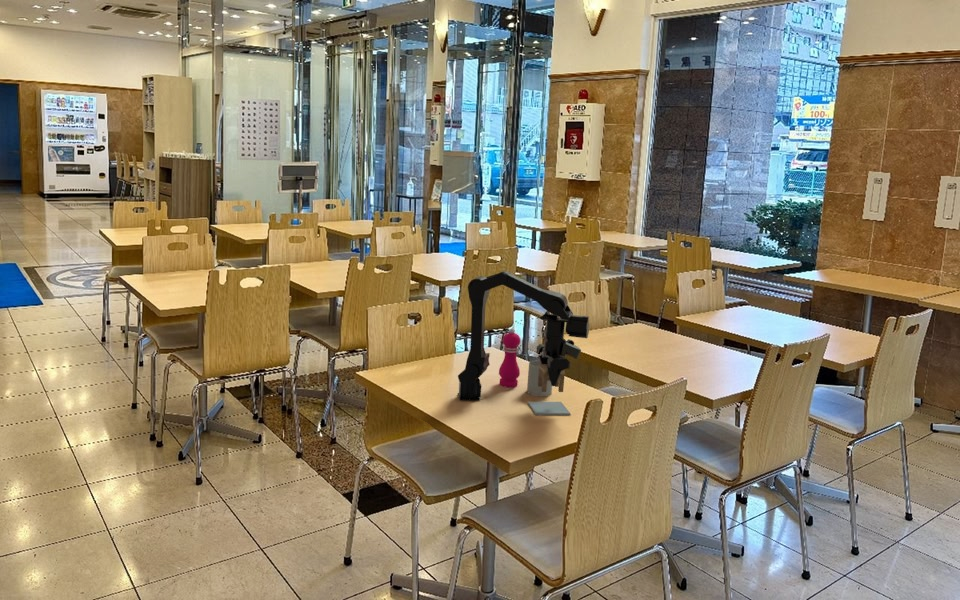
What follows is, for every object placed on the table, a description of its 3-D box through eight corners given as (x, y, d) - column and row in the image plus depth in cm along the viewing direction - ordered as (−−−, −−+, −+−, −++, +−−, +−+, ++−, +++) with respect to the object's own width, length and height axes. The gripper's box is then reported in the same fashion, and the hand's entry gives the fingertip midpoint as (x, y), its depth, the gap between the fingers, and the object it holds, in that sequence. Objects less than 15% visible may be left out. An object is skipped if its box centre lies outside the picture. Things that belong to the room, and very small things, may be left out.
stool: (542, 391, 240) (544, 370, 239) (537, 385, 246) (539, 364, 245) (563, 392, 241) (564, 370, 240) (557, 385, 247) (559, 364, 246)
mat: (535, 415, 239) (536, 413, 239) (527, 403, 249) (528, 401, 249) (570, 415, 241) (570, 413, 240) (561, 403, 251) (561, 401, 251)
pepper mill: (498, 387, 264) (502, 330, 260) (497, 381, 271) (501, 325, 267) (519, 388, 264) (523, 331, 260) (518, 382, 271) (522, 326, 268)
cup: (536, 397, 256) (538, 368, 254) (521, 390, 263) (523, 361, 261) (556, 394, 261) (558, 365, 259) (541, 387, 267) (543, 359, 265)
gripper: (588, 342, 233) (583, 392, 236) (571, 327, 251) (567, 374, 254) (552, 341, 231) (548, 391, 234) (537, 327, 249) (534, 373, 252)
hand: (550, 382), depth 243 cm, fingers closed on stool, 6 cm apart
